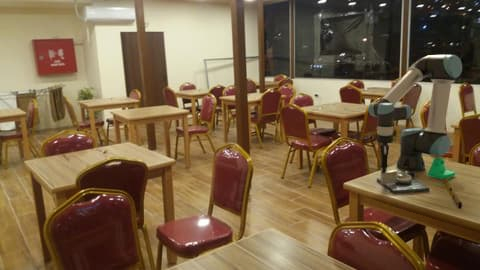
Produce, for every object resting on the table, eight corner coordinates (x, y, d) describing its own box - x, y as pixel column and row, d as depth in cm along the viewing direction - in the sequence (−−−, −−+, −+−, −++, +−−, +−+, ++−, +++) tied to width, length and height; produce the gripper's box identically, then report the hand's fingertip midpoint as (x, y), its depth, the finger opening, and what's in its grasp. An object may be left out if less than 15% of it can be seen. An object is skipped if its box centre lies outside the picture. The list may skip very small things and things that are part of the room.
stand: (411, 178, 210) (411, 169, 209) (431, 191, 190) (432, 181, 189) (376, 181, 209) (376, 172, 208) (393, 194, 189) (393, 184, 188)
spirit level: (442, 183, 201) (443, 178, 201) (445, 183, 201) (445, 178, 200) (458, 208, 170) (458, 202, 170) (461, 209, 170) (462, 202, 169)
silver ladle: (404, 177, 205) (404, 166, 204) (415, 182, 198) (415, 170, 196) (376, 182, 200) (376, 170, 199) (386, 186, 193) (387, 175, 191)
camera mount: (440, 181, 205) (441, 162, 203) (427, 177, 211) (428, 159, 209) (455, 177, 210) (456, 158, 208) (442, 173, 216) (444, 155, 214)
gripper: (376, 131, 202) (375, 174, 207) (377, 136, 190) (376, 182, 195) (392, 131, 200) (390, 175, 205) (394, 137, 188) (392, 183, 193)
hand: (383, 179), depth 200 cm, fingers closed
